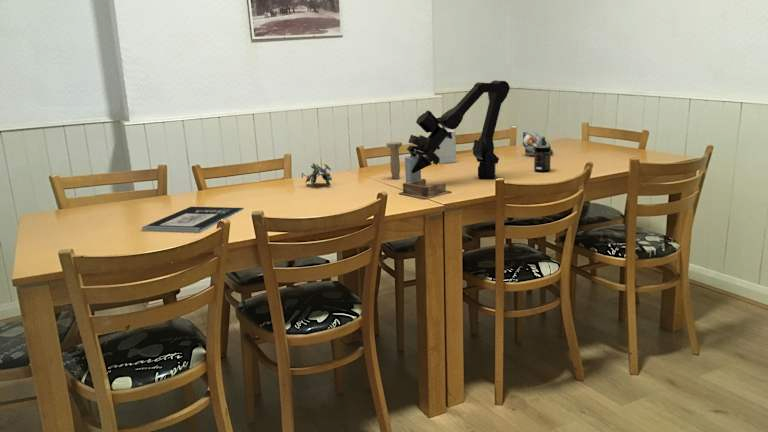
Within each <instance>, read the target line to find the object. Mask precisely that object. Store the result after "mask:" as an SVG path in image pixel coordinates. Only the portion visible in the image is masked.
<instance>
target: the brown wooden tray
mask: <svg viewBox="0 0 768 432" xmlns="http://www.w3.org/2000/svg"><path fill="white" fill-rule="evenodd" d="M426 183H427V180H426V179H425V178H421V179H420V180H416V181H411V182H407V183H406V182H404V183H402V191H401V192H398V195H400V196H401V195H402V196H406V197H410V198H415V199H421V200H424V201H425V200H429V199H432V198H435V197H436V196H437V197H440V196H444V195H447V194H451V193H452V190H447V189H446V187H447V186H446V185H447V183H446V182H442V181H441V182H438V183H435V184H434V183H433V184H430V185H427V184H426ZM437 197H436V198H437Z"/></svg>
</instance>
